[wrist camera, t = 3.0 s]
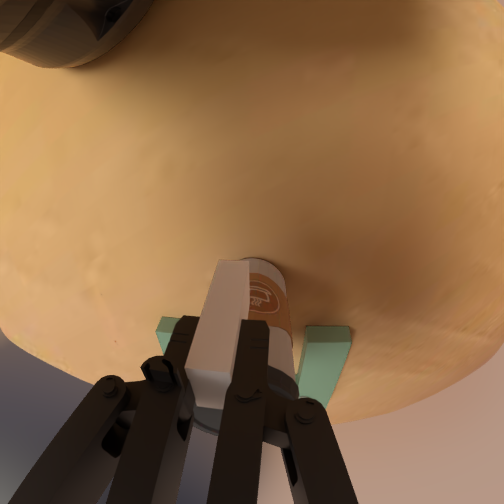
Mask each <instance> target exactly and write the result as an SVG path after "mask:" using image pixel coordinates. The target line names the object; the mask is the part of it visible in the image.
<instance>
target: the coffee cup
mask: <svg viewBox="0 0 504 504" xmlns="http://www.w3.org/2000/svg"><path fill="white" fill-rule="evenodd" d="M239 261H249V288H250V305H249V312H248V320H265V321H266V323H267V325H268V327H269V329H270V337H269V355H268V372H267V383H268V385H269V388H270V389H271V390H272V391H273V392H274V393H275V394H277V395H278V396H281V397H283V398H286V399H289V400H292V401H294V400H296V399H298V398H299V387H298V385H297V384H296V383H295V372H294V361H293V351H292V348H293V341H292V332H291V323H290V315H289V307H288V300H287V296H286V287H285V281H284V278H283V276H282V274H281V272H280V271H279V270H278V269H277V268H276V267H275V266H274V265H272V264H271V263H269V262H267V261H265V260H262V259H257V258H247V259H242V260H239ZM193 412H194V422H193V426H194V427H196V428H198V429H200V430H202V431H204V432H207V433H210V434H213V435H216V436H218V435H219V429H220V423H221V418H222V412H223V409H215V408H207V407H199V406H197V405H196V402H195V403H194V407H193Z"/></svg>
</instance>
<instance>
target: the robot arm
mask: <svg viewBox="0 0 504 504" xmlns="http://www.w3.org/2000/svg"><path fill="white" fill-rule="evenodd" d="M153 1H154V0H0V52H3V53H6V54H9V55H11V56H14V57H16V58H18V59H21V60H23V61H26V62H28V63H31V64H33V65H35V66H38V67H42V68H69V67H75V66H79V65H82V64H85V63H88V62H90V61H92V60H94V59H96V58H98V57H100V56H101V55H103V54H105V53H106V52H107V51H109V50H110V49H112V48H113V47H114V46H115V45H117V44H118V43H119V42H120V41H121V40H122V39H124V38H125V37H126V36H127V35H128V34H129V33H130V32H131V31H132V30H133V28H134V27H135V26H136V25H137V24H138V23H139V21H140V20H141V19H142V18H143V16H144V15H145V14H146V12H147V11H148V9H149V8H150V6H151V4H152V3H153ZM249 305H250V288H249V261H236V260H219V261H218V264H217V267H216V270H215V273H214V276H213V279H212V282H211V285H210V288H209V291H208V294H207V297H206V300H205V303H204V307H203V310H202V313H201V316H200V317H196V316H185V315H184V316H183V317H182V318H181V319H180V320H179V321H178V322H177V323H176V324H175V327H174V329H173V332H172V335H171V337H170V341H169V342H168V345H167V348H166V350H165V353H164V355H163V356H154V357H151V358H149V359H148V360H146V361H145V362H144V363H143V364H142V366H141V367H140V368H141V370H142V372H143V374H144V376H145V378H146V380H142V381H135V382H124V380H123V379H121V378H120V377H119V376H115V375H107V376H105V377H102V378H101V379H100V380H99V381H97V383H96V384H95V385H94V386H93V388H92V389H91V390H90V391H89V393H88V394H87V395H86V397H85V398H84V399H83V400H82V402H81V403H80V404H79V406H78V407H77V408H76V410H75V411H74V412H73V413H72V415H71V416H70V417H69V419H68V420H67V422H65V424H64V425H63V426H62V428H61V429H60V430H59V432H58V433H57V435H56V436H55V437H54V439H53V440H52V441H51V443H50V444H49V445H48V447H47V448H46V450H45V451H44V452H43V454H42V455H41V456H40V458H39V459H38V461H37V462H36V463H35V465H34V466H33V467H32V469H31V470H30V472H29V473H28V475H27V476H26V477H25V479H24V480H23V482H22V483H21V485H20V486H19V488H18V489H17V491H16V492H15V494H14V495H13V497H12V498H11V500H10V501H9V503H8V504H96V503H97V502H98V500H99V499H100V497H101V495H102V494H103V492H104V491H105V489H106V488H107V486H108V484H109V483H110V481H111V480H112V478H113V477H114V479H113V481H112V485H111V488H110V491H109V495H108V498H107V502H106V504H176V500H177V495H178V490H179V486H180V481H181V476H182V472H183V467H184V462H185V458H186V453H187V449H188V444H189V440H190V435H191V431H192V427H193V422H194V412H193V407H194V403H195V402H196V405H197V406H199V407H207V408H215V409H223V412H222V418H221V423H220V429H219V435H218V440H217V446H216V453H215V458H214V463H213V469H212V475H211V481H210V486H209V492H208V498H207V504H257V496H258V486H259V476H260V465H261V453H262V442H263V441H264V442H266V443H269V444H272V445H275V446H278V447H280V448H281V453H282V456H283V461H284V465H285V469H286V473H287V477H288V481H289V485H290V489H291V493H292V497H293V500H294V504H358V501H357V498H356V495H355V492H354V489H353V486H352V484H351V480H350V478H349V475H348V472H347V469H346V466H345V463H344V460H343V458H342V454H341V452H340V449H339V446H338V443H337V440H336V438H335V435H334V432H333V429H332V426H331V423H330V421H329V418H328V415H327V412H326V410H325V408H324V406H323V405H322V404H321V403H320V402H319V401H317V400H316V399H312V398H309V397H307V398H299V399H296V400H294V401H292V400H289V399H286V398H283V397H281V396H278V395H277V394H275V393H274V392H273V391H272V390H271V389H270V388H269V385H268V383H267V372H268V355H269V337H270V329H269V327H268V325H267V323H266V321H265V320H248V312H249Z"/></svg>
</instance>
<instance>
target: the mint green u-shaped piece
mask: <svg viewBox="0 0 504 504" xmlns="http://www.w3.org/2000/svg"><path fill="white" fill-rule="evenodd" d="M179 320H180V318H170V317H162V318H161V320H160V322H159V325H158V327H157V329H156V334H157V337H158V340H159V343H160V346H161V348H162V351H163V354H164V353H165V350H166V348H167V345H168V342H169V341H170V337H171V335H172V332H173V329H174V327H175V324H176V323H177V322H178V321H179ZM351 344H352V340H351V335H350V330H349V326H306V331H305V337H304V342H303V348H302V353H301V359H300V364H299V369H298V374H297V375H295V383H296V384H297V385H298V387H299V398H307V397H309V398H312V399H316V400H317V401H319V402H320V403H321V404H322V405H323V406H324V408H325V409H326V407H327V404H328V402H329V400H330V398H331V395H332V393H333V390H334V388H335V386H336V383H337V381H338V378H339V376H340V373H341V371H342V368H343V366H344V363H345V360H346V358H347V355H348V352H349V349H350V347H351ZM299 398H298V399H299Z"/></svg>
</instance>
